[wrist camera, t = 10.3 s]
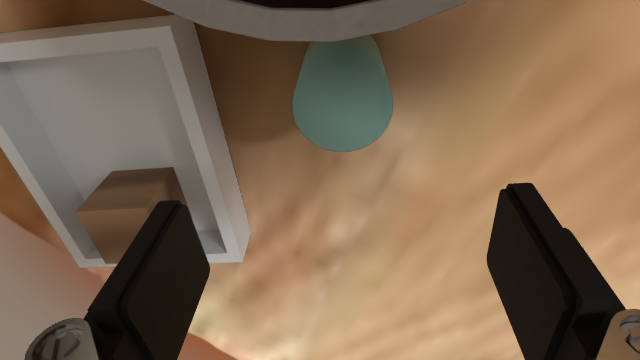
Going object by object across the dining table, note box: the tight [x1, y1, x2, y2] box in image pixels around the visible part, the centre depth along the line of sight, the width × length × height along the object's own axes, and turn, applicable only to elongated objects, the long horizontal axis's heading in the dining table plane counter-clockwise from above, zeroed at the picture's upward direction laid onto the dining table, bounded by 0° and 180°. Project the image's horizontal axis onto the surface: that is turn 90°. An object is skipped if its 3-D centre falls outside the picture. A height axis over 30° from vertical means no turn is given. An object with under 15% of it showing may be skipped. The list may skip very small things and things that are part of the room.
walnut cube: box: [75, 167, 192, 264], centre depth 29 cm, size 5×5×5 cm
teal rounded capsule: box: [292, 35, 393, 152], centre depth 22 cm, size 5×5×7 cm
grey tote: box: [0, 14, 251, 268], centre depth 28 cm, size 18×14×4 cm
